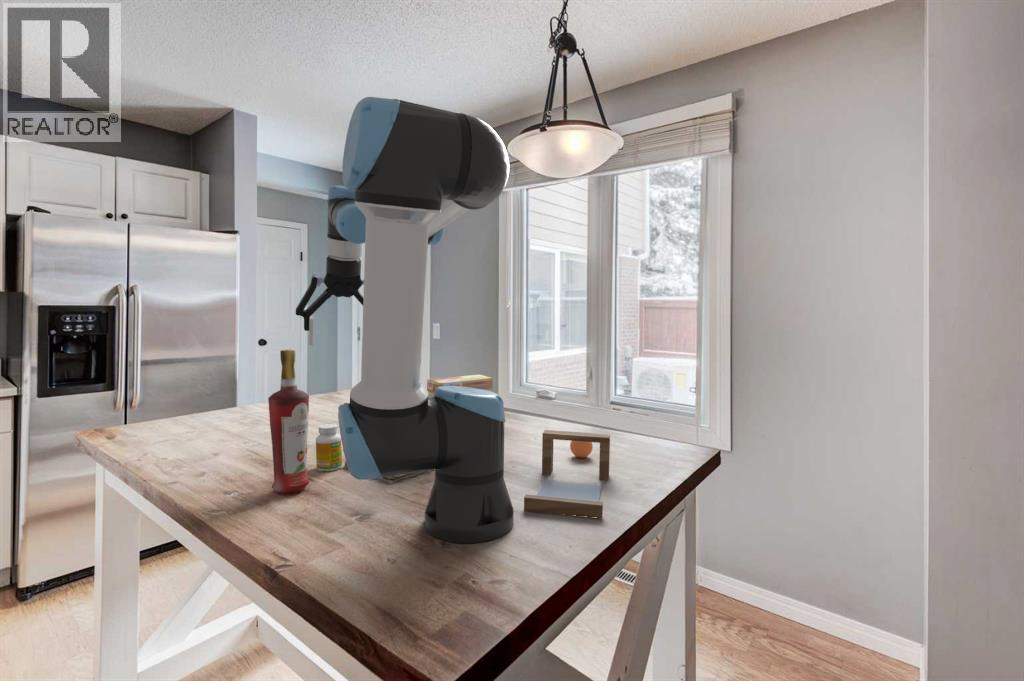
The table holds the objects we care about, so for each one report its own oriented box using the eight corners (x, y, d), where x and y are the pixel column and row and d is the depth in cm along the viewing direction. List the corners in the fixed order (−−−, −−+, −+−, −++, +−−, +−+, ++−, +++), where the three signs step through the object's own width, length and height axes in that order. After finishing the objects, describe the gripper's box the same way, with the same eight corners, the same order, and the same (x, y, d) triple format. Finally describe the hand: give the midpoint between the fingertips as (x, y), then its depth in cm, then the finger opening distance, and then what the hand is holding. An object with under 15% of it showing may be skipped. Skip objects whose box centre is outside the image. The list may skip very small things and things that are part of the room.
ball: (591, 461, 119) (592, 439, 118) (568, 459, 120) (569, 437, 119) (593, 454, 124) (593, 433, 123) (571, 453, 125) (571, 431, 125)
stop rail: (602, 519, 86) (602, 505, 86) (523, 510, 90) (524, 497, 90) (602, 515, 88) (602, 502, 88) (525, 507, 91) (525, 494, 91)
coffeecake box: (478, 447, 129) (478, 373, 128) (493, 454, 123) (494, 377, 122) (426, 457, 120) (425, 378, 119) (440, 465, 114) (440, 382, 113)
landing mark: (597, 509, 91) (597, 508, 91) (533, 502, 94) (533, 501, 94) (601, 486, 102) (601, 485, 102) (544, 480, 105) (544, 479, 105)
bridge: (608, 479, 106) (609, 437, 105) (541, 473, 109) (542, 433, 109) (609, 475, 109) (610, 434, 108) (544, 469, 112) (544, 429, 112)
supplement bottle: (333, 472, 109) (332, 429, 108) (311, 471, 110) (310, 428, 109) (346, 465, 114) (345, 423, 113) (325, 463, 115) (324, 422, 114)
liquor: (294, 481, 103) (291, 348, 101) (318, 487, 100) (316, 350, 98) (262, 493, 97) (258, 351, 95) (287, 500, 94) (284, 353, 91)
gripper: (396, 257, 121) (390, 338, 128) (284, 249, 111) (285, 337, 118) (402, 264, 114) (395, 349, 121) (283, 256, 105) (283, 349, 112)
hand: (341, 343), depth 120 cm, fingers open, 13 cm apart
